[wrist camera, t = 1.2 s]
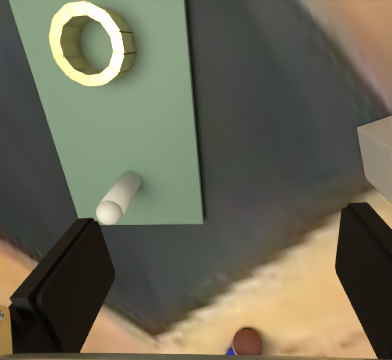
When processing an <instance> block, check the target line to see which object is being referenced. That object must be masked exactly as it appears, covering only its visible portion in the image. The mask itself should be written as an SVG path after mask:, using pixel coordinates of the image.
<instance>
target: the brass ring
mask: <svg viewBox="0 0 392 360" xmlns="http://www.w3.org/2000/svg"><path fill="white" fill-rule="evenodd" d="M67 4H68V5H67ZM67 4H66V5H65V6H64V7H63V8H62V9H61V10H60V11H59V12H58V13H57V14H56V15H55V16H54V19H52V24H51V29H50V34H49V38H50V39H52V40H49V42H50V45H51V49H52V52H53V56H54V59H57V60H56V63H57V64H58V65H59V66H60V67H61V69H62V70H63V71H64V72H65V74H66V75H67V76H68V77H69V76H70V78H71V79H73V80H75V81H77V82H79V83H81V84H83V85H85V86H96V85H105V84H108V83H111V82H114V81H116V80H119V79H120V78H122V77H123V76H124V75H125V74H127V73H128V72H129V71H130V69H132V66H133V63H134V60H135V57H136V53H134V52H137V51H136V45H135V39H134V34H131V33H132V32H133V31H132V30H131V28H130V27H129V25H128V24H127V23H126V21H125V20H124V18H123V17H122V16H121V15H120V14H118V13H116V12H114V11H112V10H110V9H108V8H106V7H104V6H100V5H97V4H93V3H90V2H86V1H84V2H75V3H67ZM93 19H96V20H98V21H100V22H101V23H102V25H103V26H104V28H105V29H106V30H107V32H108V33H109V34H110V36H111V41H112V46H113V51H114V52H113V56H112V59H111V62H110V66H109V67H108V68H106V69H105V70H104V71H101V70H99V69H97V68H95V67H93V66H91V65H90V63H89V62H88V61H87V59H86V58H85V57H84V56H83V53H82V49H81V45H80V38H81V33H82V29H83V27H84V26H86V25H87V24H88V23H89V22H90V21H91V20H93Z"/></svg>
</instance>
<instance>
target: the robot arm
mask: <svg viewBox="0 0 392 360" xmlns="http://www.w3.org/2000/svg"><path fill="white" fill-rule="evenodd" d="M335 269H336V273H337V276H338V278H339V280H340V282H341V284H342V286H343V288H344V290H345V292H346V294H347V296H348V298H349V300H350V303H351V305H352V307H353V309H354V311H355V313H356V315H357V317H358V319H359V321H360V323H361V325H362V327H363V329H364V331H365V333H366V335H367V337H368V339H369V341H370V344H371V346H372V348H373V350H374V352H375V354H376V356H377V358H378V359H365V358H339V357H301V356H255V355H201V354H131V353H80V351H81V349H82V347H83V344H84V342H85V340H86V338H87V336H88V334H89V332H90V330H91V328H92V325H93V323H94V321H95V319H96V317H97V315H98V313H99V311H100V309H101V306H102V304H103V302H104V300H105V298H106V296H107V294H108V292H109V289H110V287H111V285H112V283H113V281H114V278H115V271H114V267H113V264H112V261H111V258H110V255H109V252H108V249H107V246H106V243H105V240H104V237H103V234H102V231H101V228H100V225H99V222H98V221H95V220H94V219H93V218H79V219H77V220H76V221H75V222H74V223H73V224H72V225H71V227H70V228H69V229H68V230H67V231H66V232H65V234H64V235H63V236H62V237H61V238H60V239H59V241H58V242H57V243H56V244H55V245H54V247H53V248H52V249H51V250H50V251H49V252H48V254H47V255H46V256H45V257H44V258H43V259H42V261H41V262H40V263H39V264H38V265H37V266H36V268H35V269H34V270H33V271H32V272H31V274H30V275H29V276H28V277H27V278H26V279H25V281H24V282H23V283H22V284H21V285H20V286H19V288H18V289H17V290H16V291H15V292H14V293H13V295H12V296H11V297H10V300H11V302H12V304H11V305H10V306H9V307H6V306H4V305H0V360H392V229H391V228H390V227H389V226H388V225H387V224H386V223H385V222H384V220H383V219H382V218H381V217H380V216H379V215H378V214H377V213H376V212H375V210H374V209H373V208H372V207H371V206H370V205H369V204H368V203H366V202H363V203H349V204H348V205H347V207H346V208H342V211H341V220H340V228H339V237H338V245H337V254H336V263H335Z"/></svg>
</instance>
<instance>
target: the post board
mask: <svg viewBox="0 0 392 360" xmlns="http://www.w3.org/2000/svg"><path fill="white" fill-rule="evenodd" d="M84 1H86V2H90V3H93V4H97V5H100V6H104V7H106V8H108V9H110V10H112V11H114V12H116V13H118V14H120V15H121V16H122V17H123V18H124V20H125V21H126V23H127V24H128V25H129V27H130V28H131V30H132V31H133V32H132V33H131V34H134V39H135V45H136V51H137V52H134V53H136V57H135V60H134V63H133V66H132V69H130V71H129V72H128V73H127V74H125V75H124V76H123V77H122V78H120V79H119V80H116V81H114V82H111V83H108V84H105V85H96V86H85V85H83V84H81V83H79V82H77V81H75V80H73V79H71V78H70V76H69V77H68V76H67V75H66V74H65V72H64V71H63V70H62V69H61V67H60V66H59V65H58V64H57V63H56V60H57V59H54V56H53V52H52V49H51V45H50V42H49V40H52V39H50V38H49V34H50V29H51V24H52V19H54V16H55V15H56V14H57V13H58V12H59V11H60V10H61V9H62V8H63V7H64V6H65V5H66V4H67V3H75V2H84ZM9 2H10V5H11V8H12V11H13V14H14V18H15V21H16V24H17V27H18V30H19V33H20V36H21V39H22V43H23V46H24V49H25V52H26V55H27V58H28V61H29V64H30V68H31V71H32V74H33V77H34V80H35V83H36V86H37V89H38V93H39V96H40V99H41V102H42V105H43V108H44V111H45V114H46V118H47V121H48V124H49V127H50V130H51V133H52V136H53V139H54V143H55V146H56V149H57V152H58V155H59V158H60V161H61V164H62V168H63V171H64V174H65V177H66V180H67V183H68V186H69V189H70V193H71V196H72V199H73V202H74V205H75V208H76V211H77V214H78V218H93V219H94V220H95V221H98V222H99V225H142V224H203V220H204V213H203V202H202V190H201V178H200V166H199V154H198V142H197V130H196V118H195V106H194V94H193V82H192V71H191V59H190V47H189V35H188V23H187V11H186V0H9ZM67 5H68V4H67ZM80 45H81V49H82V53H83V56H84V57H85V58H86V59H87V61H88V62H89V63H90V65H91V66H93V67H95V68H97V69H99V70H101V71H104V70H105V69H106V68H108V67H109V66H110V62H111V59H112V56H113V52H114V51H113V46H112V41H111V36H110V34H109V33H108V32H107V30H106V29H105V28H104V26H103V25H102V23H101V22H100V21H98V20H96V19H93V20H91V21H90V22H89V23H88V24H87V25H86V26H84V27H83V29H82V33H81V38H80Z"/></svg>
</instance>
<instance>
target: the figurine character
mask: <svg viewBox="0 0 392 360" xmlns="http://www.w3.org/2000/svg"><path fill="white" fill-rule="evenodd" d="M232 346H233V348H230V349H229V352H228V353H227V354H225V355H255V356H260V355H261V353H262V342H261V339H260V337H259V336H258V335H257V334H256V333H255V332H254V331H252V330H249V329H243V330H240V331H239V332H237V333H236V335H235V336H234V338H233V343H232Z"/></svg>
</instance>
